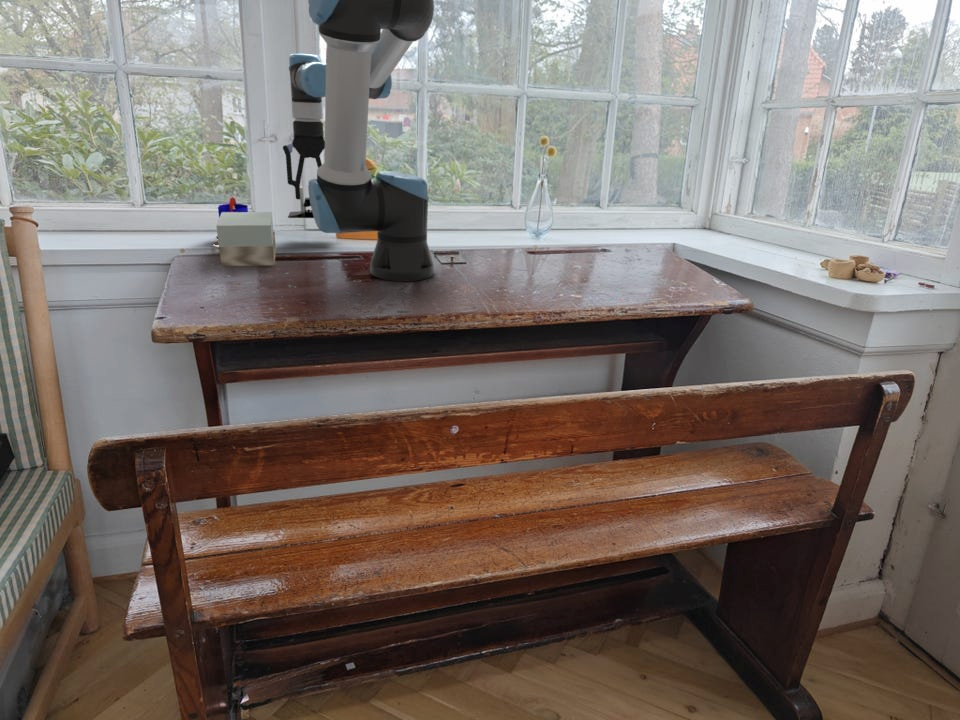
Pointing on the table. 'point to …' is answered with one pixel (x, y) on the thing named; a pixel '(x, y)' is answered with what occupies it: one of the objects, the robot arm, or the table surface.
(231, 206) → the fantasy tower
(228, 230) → the top block
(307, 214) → the build plate
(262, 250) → the base block
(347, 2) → the robot arm
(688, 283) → the table surface
